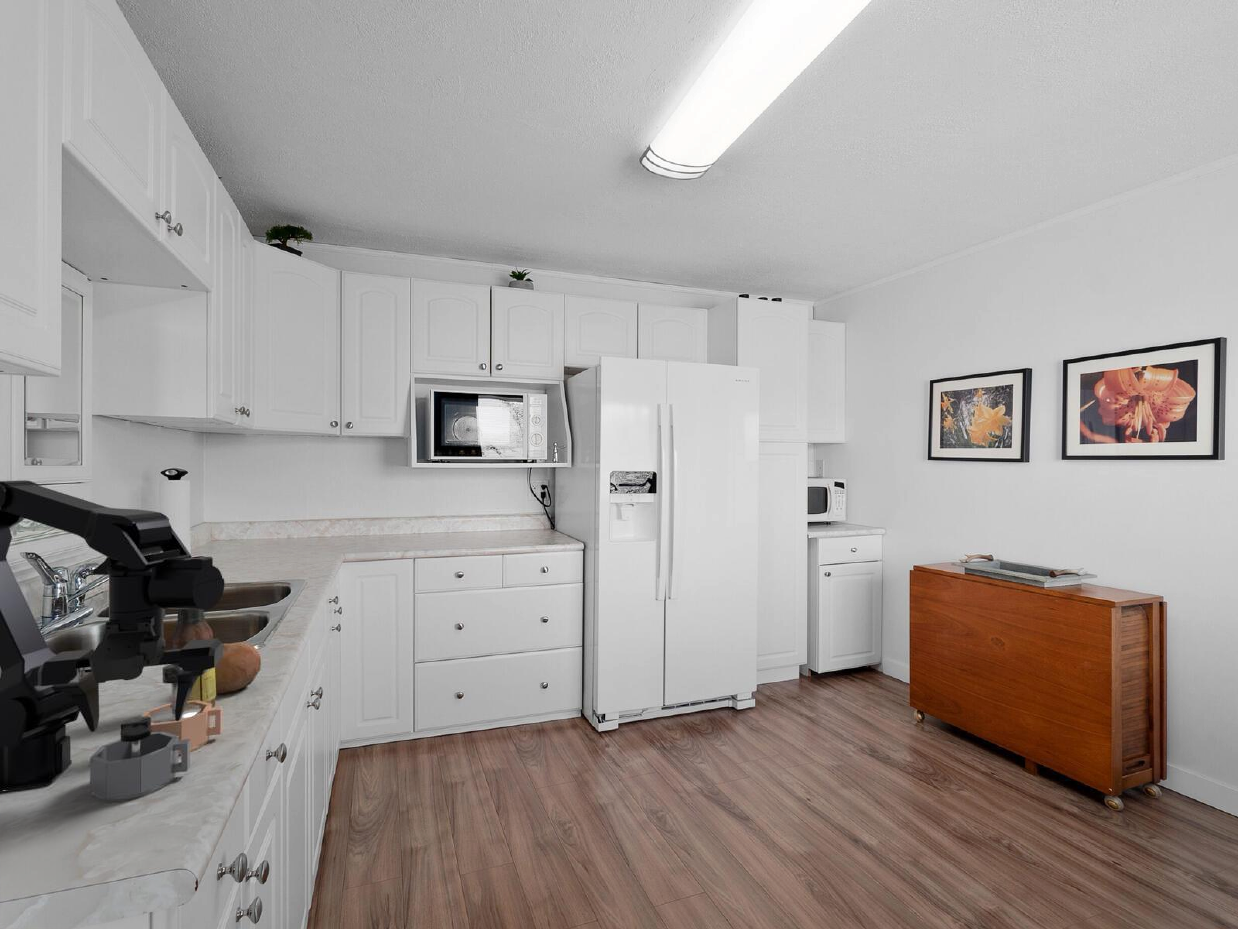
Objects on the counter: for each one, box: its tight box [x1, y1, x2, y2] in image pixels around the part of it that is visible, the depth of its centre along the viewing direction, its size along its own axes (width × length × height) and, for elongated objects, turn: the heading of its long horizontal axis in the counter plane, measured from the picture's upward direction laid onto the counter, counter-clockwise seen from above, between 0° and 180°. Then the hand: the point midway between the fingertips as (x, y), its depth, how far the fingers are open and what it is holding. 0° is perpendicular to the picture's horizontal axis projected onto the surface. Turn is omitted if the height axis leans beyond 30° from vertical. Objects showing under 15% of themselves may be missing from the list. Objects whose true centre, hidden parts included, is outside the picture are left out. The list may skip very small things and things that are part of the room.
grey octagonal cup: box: [89, 731, 191, 803], centre depth 83 cm, size 10×9×5 cm
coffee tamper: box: [120, 716, 151, 758], centre depth 83 cm, size 6×6×8 cm
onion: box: [215, 641, 262, 694], centre depth 116 cm, size 10×9×10 cm
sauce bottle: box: [169, 609, 217, 708], centre depth 107 cm, size 7×6×20 cm
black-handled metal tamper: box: [150, 663, 201, 723], centre depth 94 cm, size 6×6×8 cm
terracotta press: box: [140, 700, 224, 757], centre depth 94 cm, size 10×9×5 cm
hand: (137, 725), depth 83 cm, fingers open, 9 cm apart
